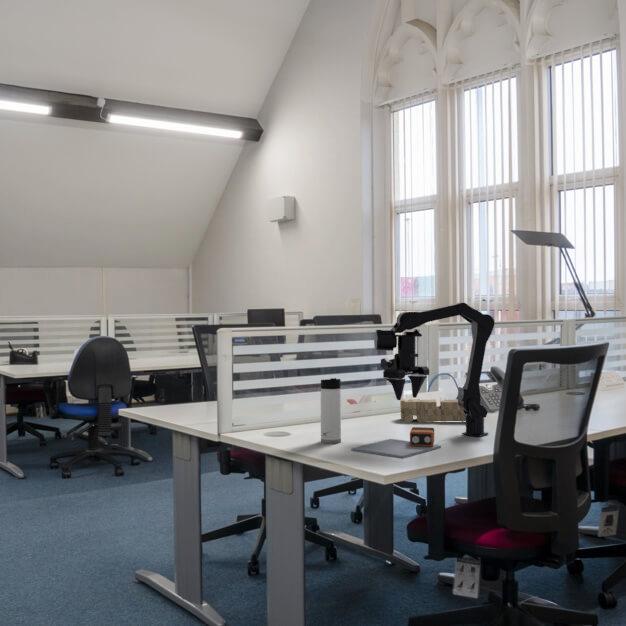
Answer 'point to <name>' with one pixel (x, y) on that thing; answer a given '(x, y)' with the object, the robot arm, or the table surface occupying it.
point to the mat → (394, 448)
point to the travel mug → (331, 411)
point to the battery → (422, 437)
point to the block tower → (431, 410)
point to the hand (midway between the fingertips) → (406, 398)
